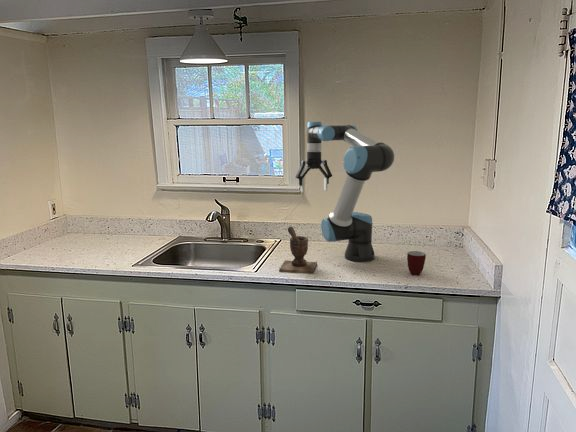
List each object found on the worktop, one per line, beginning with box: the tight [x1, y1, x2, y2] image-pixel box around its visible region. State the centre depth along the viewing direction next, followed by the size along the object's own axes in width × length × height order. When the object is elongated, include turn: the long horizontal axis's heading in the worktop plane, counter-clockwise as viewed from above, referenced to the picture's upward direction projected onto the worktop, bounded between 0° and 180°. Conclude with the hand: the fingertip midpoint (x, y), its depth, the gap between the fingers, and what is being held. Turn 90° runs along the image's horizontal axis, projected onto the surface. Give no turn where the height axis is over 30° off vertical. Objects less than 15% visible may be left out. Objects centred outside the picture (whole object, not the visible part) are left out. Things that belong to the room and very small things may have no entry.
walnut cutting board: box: [278, 259, 318, 275], centre depth 229 cm, size 16×14×1 cm
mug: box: [406, 250, 427, 276], centre depth 220 cm, size 11×8×10 cm
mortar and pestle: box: [287, 226, 309, 267], centre depth 227 cm, size 12×9×20 cm
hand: (313, 191), depth 257 cm, fingers open, 13 cm apart
